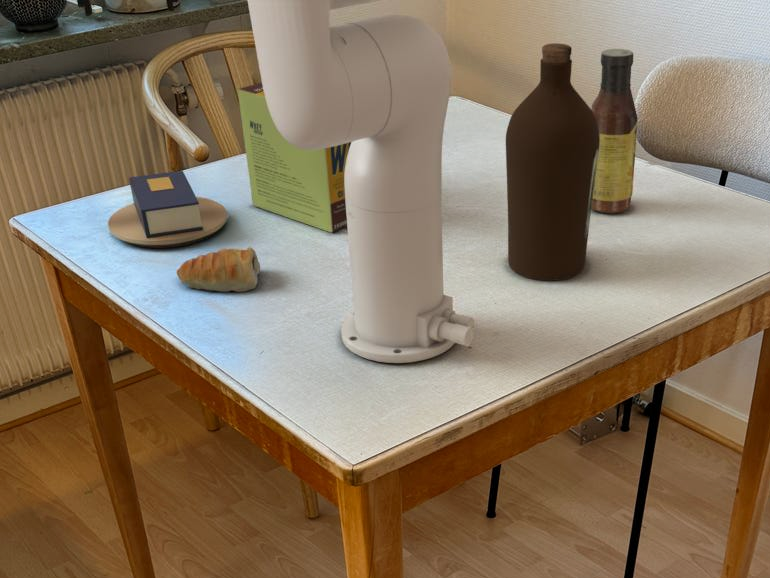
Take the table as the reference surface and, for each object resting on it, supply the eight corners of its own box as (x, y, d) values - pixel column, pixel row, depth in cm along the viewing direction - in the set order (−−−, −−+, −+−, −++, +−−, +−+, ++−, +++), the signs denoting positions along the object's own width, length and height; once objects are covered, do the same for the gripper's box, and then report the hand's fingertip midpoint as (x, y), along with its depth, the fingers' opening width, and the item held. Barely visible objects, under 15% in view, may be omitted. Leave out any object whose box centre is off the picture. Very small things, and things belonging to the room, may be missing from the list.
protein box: (333, 234, 130) (322, 111, 120) (251, 206, 137) (235, 88, 128) (387, 209, 136) (380, 91, 127) (306, 184, 144) (294, 70, 134)
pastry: (176, 296, 116) (169, 265, 113) (183, 271, 121) (177, 241, 119) (258, 292, 116) (254, 261, 114) (262, 267, 122) (258, 237, 119)
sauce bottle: (639, 210, 136) (655, 55, 124) (599, 218, 134) (612, 61, 122) (614, 194, 141) (627, 43, 129) (575, 201, 139) (585, 49, 127)
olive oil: (514, 287, 118) (520, 62, 103) (494, 250, 126) (497, 37, 111) (601, 279, 120) (619, 57, 104) (576, 243, 128) (590, 32, 112)
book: (238, 234, 128) (233, 201, 125) (116, 252, 123) (108, 218, 120) (215, 193, 139) (210, 162, 136) (102, 209, 134) (95, 177, 131)
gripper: (13, -150, 108) (54, 22, 118) (179, -154, 111) (204, 14, 122) (18, -157, 113) (57, 8, 124) (176, -160, 117) (200, 1, 128)
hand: (130, 11), depth 123 cm, fingers open, 9 cm apart
